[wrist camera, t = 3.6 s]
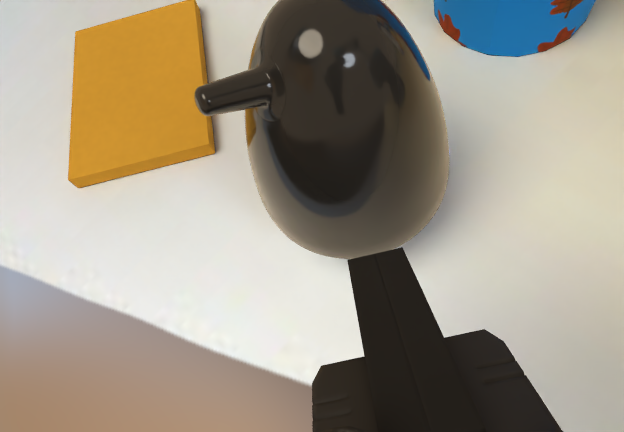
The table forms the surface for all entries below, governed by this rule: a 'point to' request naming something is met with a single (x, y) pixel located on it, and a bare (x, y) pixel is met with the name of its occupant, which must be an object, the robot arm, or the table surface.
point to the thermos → (511, 23)
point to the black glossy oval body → (339, 126)
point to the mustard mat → (138, 95)
